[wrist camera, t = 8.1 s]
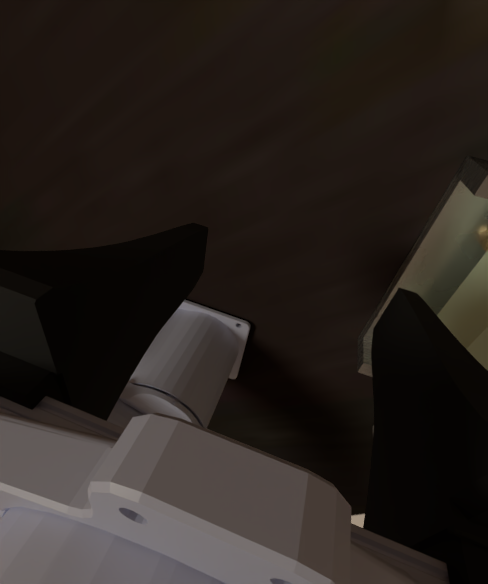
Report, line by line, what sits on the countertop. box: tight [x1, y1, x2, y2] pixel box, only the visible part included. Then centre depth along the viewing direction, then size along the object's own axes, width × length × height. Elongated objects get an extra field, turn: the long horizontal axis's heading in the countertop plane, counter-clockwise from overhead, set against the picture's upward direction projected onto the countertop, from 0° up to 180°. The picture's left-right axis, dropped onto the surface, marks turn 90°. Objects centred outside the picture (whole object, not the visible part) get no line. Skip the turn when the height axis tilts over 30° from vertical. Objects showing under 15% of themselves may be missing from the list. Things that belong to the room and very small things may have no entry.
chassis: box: [358, 156, 488, 377], centre depth 18 cm, size 14×9×4 cm, turn 170°
